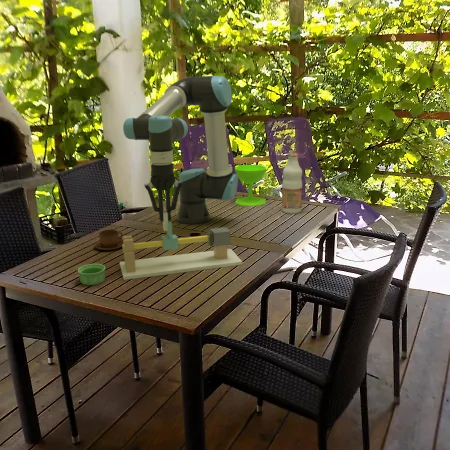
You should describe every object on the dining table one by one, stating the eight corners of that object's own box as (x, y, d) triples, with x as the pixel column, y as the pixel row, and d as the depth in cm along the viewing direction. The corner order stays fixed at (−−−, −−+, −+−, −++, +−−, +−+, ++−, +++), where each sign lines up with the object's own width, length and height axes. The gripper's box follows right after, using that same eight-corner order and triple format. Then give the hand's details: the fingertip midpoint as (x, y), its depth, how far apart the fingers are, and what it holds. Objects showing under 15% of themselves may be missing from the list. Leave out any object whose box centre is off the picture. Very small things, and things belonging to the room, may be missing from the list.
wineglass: (250, 208, 253) (250, 172, 247) (228, 201, 264) (228, 167, 259) (272, 202, 263) (272, 167, 257) (250, 196, 274) (250, 163, 269)
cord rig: (119, 264, 184) (117, 232, 180) (230, 251, 195) (230, 221, 191) (123, 279, 171) (120, 245, 167) (242, 264, 182) (242, 232, 178)
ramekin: (90, 273, 177) (88, 262, 175) (111, 277, 173) (110, 265, 172) (73, 283, 169) (71, 271, 167) (95, 287, 165) (94, 275, 164)
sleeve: (162, 246, 181) (160, 219, 178) (175, 244, 183) (174, 218, 180) (164, 250, 177) (162, 223, 174) (178, 249, 178) (177, 222, 175)
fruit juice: (277, 210, 247) (278, 153, 238) (292, 207, 252) (293, 151, 244) (290, 215, 240) (292, 156, 231) (305, 211, 245) (307, 154, 236)
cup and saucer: (107, 240, 210) (106, 226, 208) (131, 244, 205) (130, 230, 203) (88, 250, 200) (86, 235, 198) (112, 254, 195) (111, 239, 193)
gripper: (144, 166, 165) (148, 235, 172) (183, 163, 169) (186, 231, 176) (141, 162, 172) (145, 228, 179) (179, 159, 175) (181, 224, 183)
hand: (165, 229), depth 178 cm, fingers closed
